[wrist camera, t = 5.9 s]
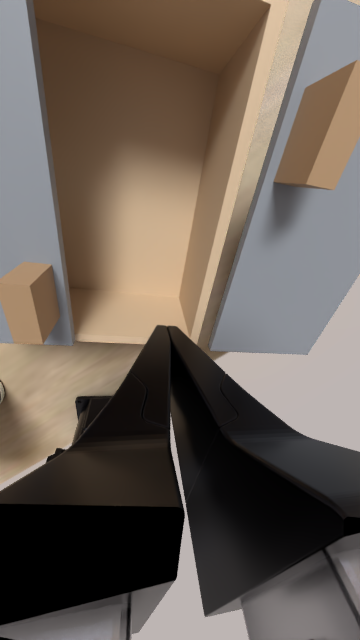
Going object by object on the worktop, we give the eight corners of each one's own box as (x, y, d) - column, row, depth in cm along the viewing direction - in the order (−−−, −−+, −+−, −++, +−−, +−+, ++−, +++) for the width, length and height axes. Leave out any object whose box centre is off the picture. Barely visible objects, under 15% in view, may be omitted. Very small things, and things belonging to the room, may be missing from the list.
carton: (183, 300, 22) (196, 346, 16) (-1, 284, 18) (-67, 335, 13) (228, 66, 13) (294, -19, 7) (-101, -39, 10) (-453, -340, 4)
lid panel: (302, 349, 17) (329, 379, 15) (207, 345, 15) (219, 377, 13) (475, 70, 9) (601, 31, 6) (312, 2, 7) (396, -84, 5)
